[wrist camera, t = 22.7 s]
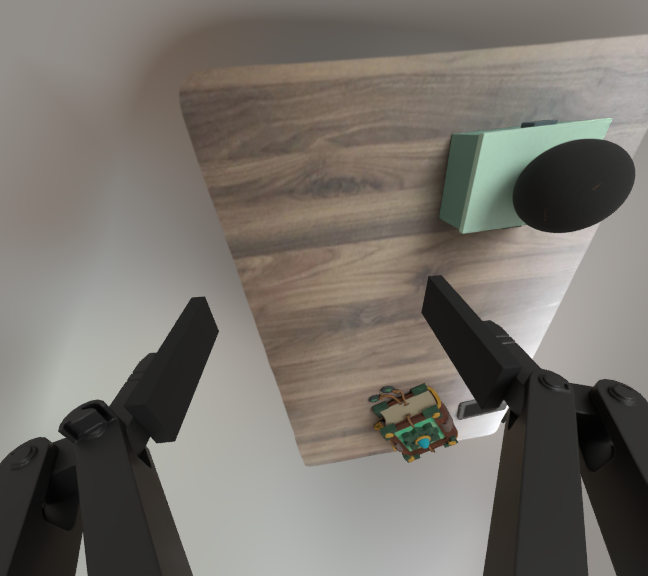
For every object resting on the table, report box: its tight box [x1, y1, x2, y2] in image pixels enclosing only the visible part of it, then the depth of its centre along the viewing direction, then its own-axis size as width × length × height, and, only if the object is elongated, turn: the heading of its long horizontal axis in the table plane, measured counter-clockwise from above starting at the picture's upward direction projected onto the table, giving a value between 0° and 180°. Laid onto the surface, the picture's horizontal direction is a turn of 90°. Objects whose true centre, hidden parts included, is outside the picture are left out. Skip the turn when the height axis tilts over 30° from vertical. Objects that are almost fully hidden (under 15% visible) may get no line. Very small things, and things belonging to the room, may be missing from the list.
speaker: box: [512, 139, 635, 233], centre depth 29 cm, size 10×10×10 cm
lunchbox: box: [439, 118, 612, 234], centre depth 36 cm, size 16×13×7 cm
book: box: [369, 383, 458, 463], centre depth 67 cm, size 27×21×10 cm
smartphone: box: [457, 400, 507, 420], centre depth 76 cm, size 15×8×1 cm, turn 100°
